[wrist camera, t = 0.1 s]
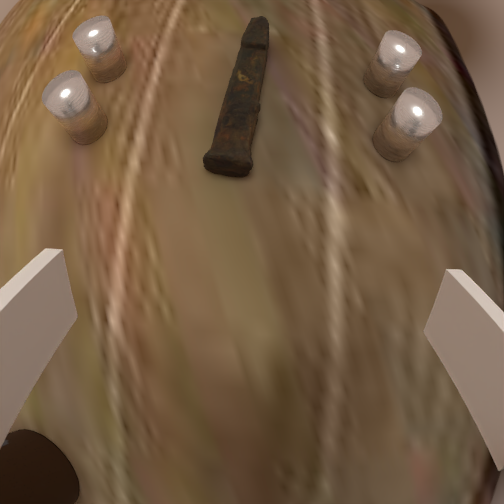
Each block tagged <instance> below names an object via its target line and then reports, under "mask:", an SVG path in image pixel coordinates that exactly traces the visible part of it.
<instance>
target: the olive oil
mask: <svg viewBox="0 0 504 504" xmlns="http://www.w3.org/2000/svg"><path fill="white" fill-rule="evenodd" d="M78 495H79V484H78V480H77V477H76V474H75V472H74V470H73V468H72V466H71V464H70V463H69V461H68V460H67V458H66V457H65V456H64V455H63V453H62V452H61V451H60V450H59V449H58V448H57V447H56V446H55V445H54V444H53V443H52V442H50V441H49V440H48V439H46V438H45V437H43V436H42V435H40V434H38V433H35V432H33V431H29V430H18V431H14V432H12V433H9V434H7V436H6V438H5V440H4V442H3V444H2V446H1V448H0V504H74V503H75V502H76V500H77V498H78Z"/></svg>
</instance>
